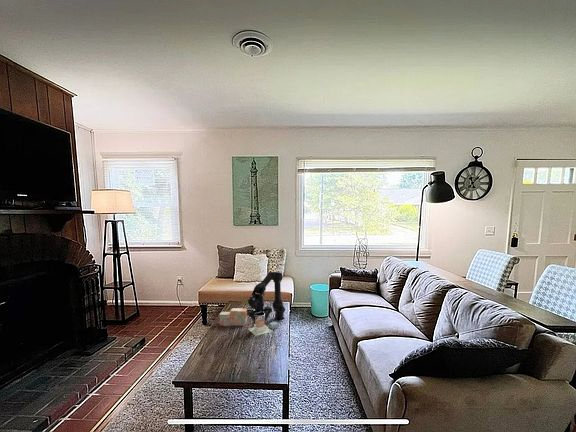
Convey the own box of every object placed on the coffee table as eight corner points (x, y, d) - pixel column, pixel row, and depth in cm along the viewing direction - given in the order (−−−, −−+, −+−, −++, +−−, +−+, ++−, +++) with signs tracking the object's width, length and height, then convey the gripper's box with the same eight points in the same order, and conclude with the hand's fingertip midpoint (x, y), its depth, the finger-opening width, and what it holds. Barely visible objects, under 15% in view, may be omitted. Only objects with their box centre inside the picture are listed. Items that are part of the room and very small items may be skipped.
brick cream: (262, 327, 214) (262, 322, 214) (266, 330, 208) (266, 325, 208) (254, 329, 210) (253, 324, 210) (257, 332, 204) (257, 328, 204)
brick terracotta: (261, 323, 213) (261, 318, 212) (264, 325, 208) (264, 320, 208) (255, 324, 210) (255, 319, 210) (258, 327, 206) (258, 322, 206)
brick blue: (275, 326, 217) (275, 321, 217) (278, 328, 212) (278, 323, 212) (269, 327, 214) (269, 322, 214) (272, 330, 210) (272, 325, 210)
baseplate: (264, 325, 219) (264, 324, 219) (272, 331, 207) (272, 330, 207) (247, 329, 211) (247, 328, 211) (255, 336, 200) (255, 335, 199)
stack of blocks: (219, 326, 219) (219, 310, 219) (221, 322, 225) (221, 307, 225) (245, 326, 217) (245, 311, 217) (247, 323, 224) (247, 308, 223)
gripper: (265, 297, 220) (266, 316, 221) (244, 301, 210) (244, 321, 211) (272, 301, 211) (272, 321, 211) (249, 305, 201) (250, 326, 201)
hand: (259, 322), depth 209 cm, fingers open, 9 cm apart
